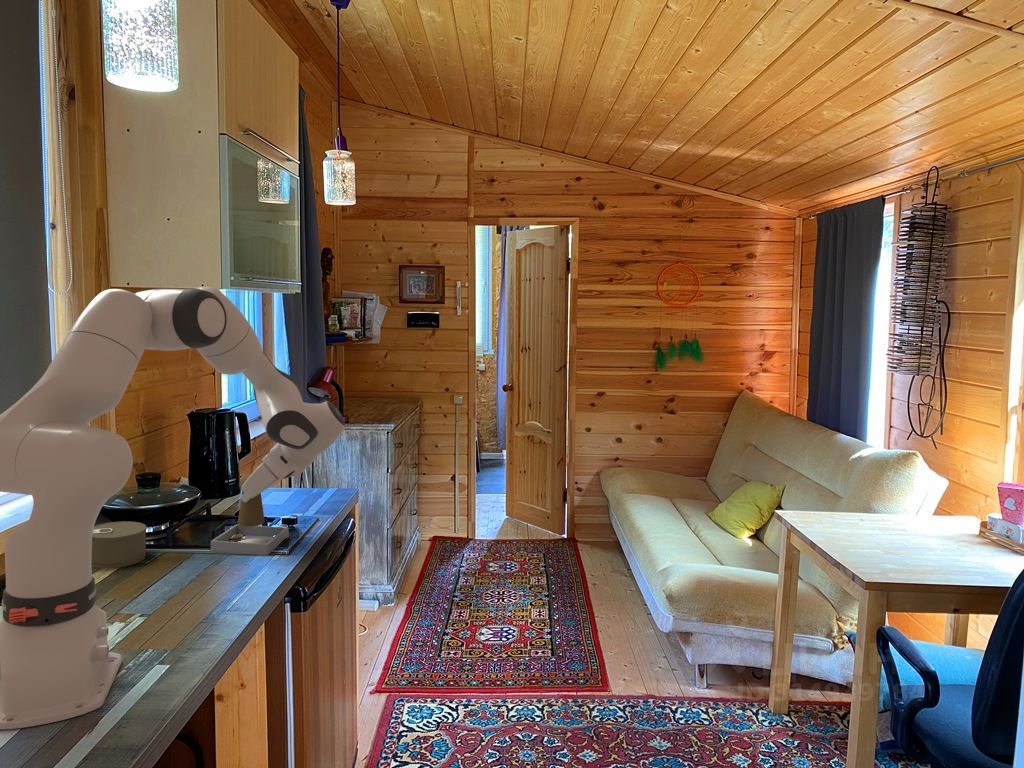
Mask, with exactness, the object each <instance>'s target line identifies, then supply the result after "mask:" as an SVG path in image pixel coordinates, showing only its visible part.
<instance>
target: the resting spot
mask: <svg viewBox="0 0 1024 768" xmlns="http://www.w3.org/2000/svg"><path fill="white" fill-rule="evenodd" d="M238 542H245V543H261V544H266V543H267V542H266V541H265V540H263V539H245V540H241V541H238Z"/></svg>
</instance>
